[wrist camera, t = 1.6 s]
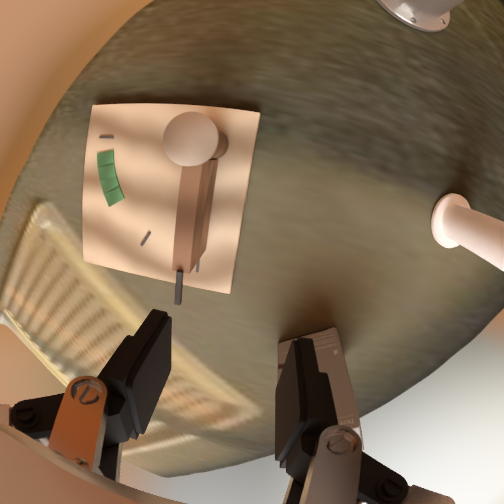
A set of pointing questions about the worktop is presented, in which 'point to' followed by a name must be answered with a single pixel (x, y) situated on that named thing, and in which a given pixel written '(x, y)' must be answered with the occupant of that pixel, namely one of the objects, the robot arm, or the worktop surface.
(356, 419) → the skincare box
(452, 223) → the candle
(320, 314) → the worktop surface
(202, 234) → the peg
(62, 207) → the worktop surface
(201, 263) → the tuner plate
